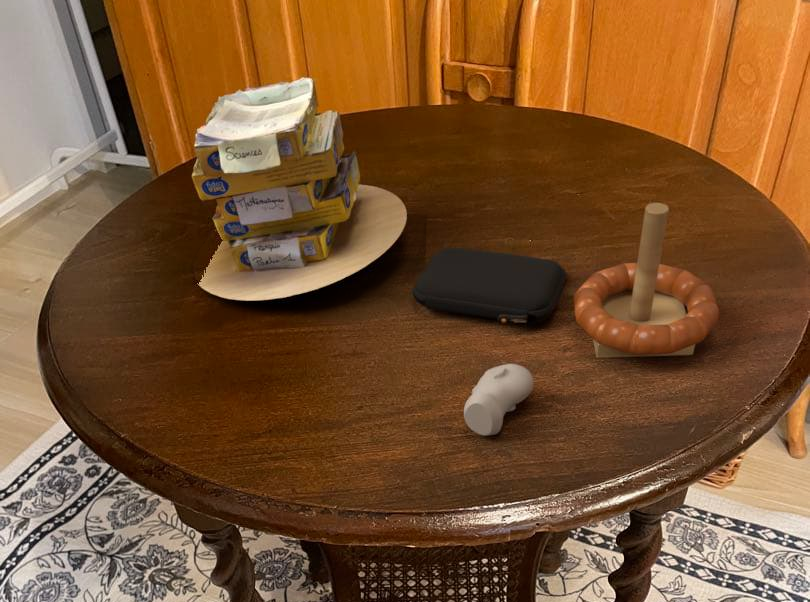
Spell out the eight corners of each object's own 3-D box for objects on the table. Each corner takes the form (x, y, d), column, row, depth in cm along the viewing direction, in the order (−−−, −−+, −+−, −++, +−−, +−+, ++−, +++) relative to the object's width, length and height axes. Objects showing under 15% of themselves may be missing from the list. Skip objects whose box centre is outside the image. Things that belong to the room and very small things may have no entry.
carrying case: (403, 318, 88) (544, 340, 84) (401, 292, 86) (546, 313, 82) (437, 264, 95) (569, 282, 91) (436, 238, 93) (571, 256, 88)
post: (676, 301, 87) (699, 181, 78) (693, 355, 81) (720, 231, 72) (586, 304, 88) (599, 185, 79) (596, 358, 82) (611, 236, 73)
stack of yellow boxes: (154, 301, 94) (104, 147, 81) (245, 193, 109) (215, 49, 97) (369, 326, 88) (351, 164, 75) (433, 208, 103) (426, 58, 91)
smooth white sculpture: (499, 392, 81) (545, 396, 78) (451, 438, 77) (498, 444, 74) (488, 351, 79) (536, 353, 75) (438, 396, 75) (486, 401, 71)
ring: (701, 279, 87) (706, 256, 85) (725, 358, 78) (731, 334, 76) (569, 282, 88) (571, 259, 86) (578, 361, 79) (580, 337, 77)
